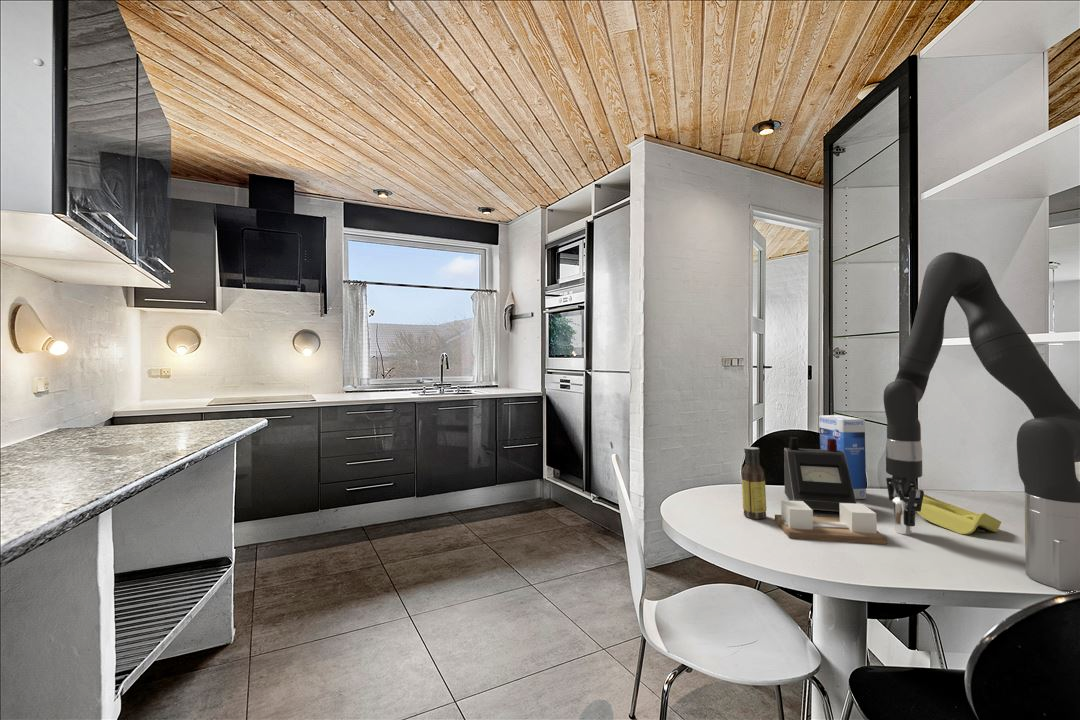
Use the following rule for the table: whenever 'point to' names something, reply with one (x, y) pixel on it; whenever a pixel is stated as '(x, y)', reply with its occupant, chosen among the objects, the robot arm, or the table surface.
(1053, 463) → the robot arm
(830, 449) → the voltmeter
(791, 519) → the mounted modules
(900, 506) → the milkshake
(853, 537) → the rail board
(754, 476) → the sauce bottle
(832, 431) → the string lights box
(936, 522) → the plastic component
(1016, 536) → the table surface
